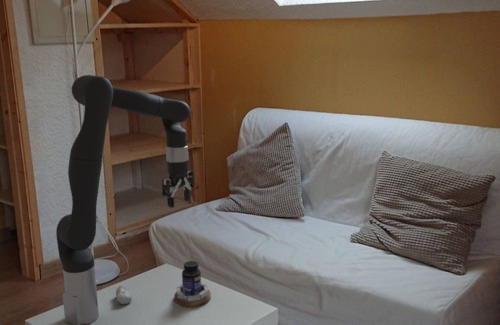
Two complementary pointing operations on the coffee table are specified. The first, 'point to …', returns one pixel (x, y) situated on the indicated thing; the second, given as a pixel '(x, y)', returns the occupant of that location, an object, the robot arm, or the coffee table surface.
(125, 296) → the white head bust
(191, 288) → the pill bottle
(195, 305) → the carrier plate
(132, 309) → the coffee table surface
